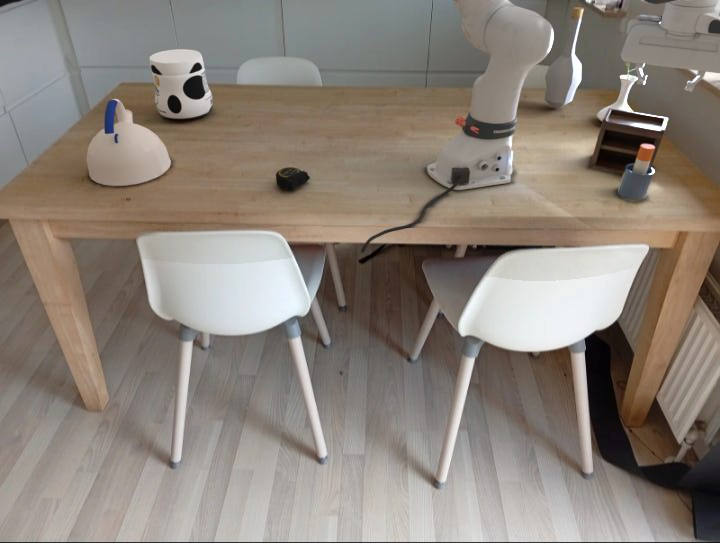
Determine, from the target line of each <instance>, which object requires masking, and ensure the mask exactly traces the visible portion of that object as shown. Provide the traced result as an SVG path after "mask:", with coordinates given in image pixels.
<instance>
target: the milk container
mask: <svg viewBox="0 0 720 543" xmlns="http://www.w3.org/2000/svg"><path fill="white" fill-rule="evenodd" d="M148 61H149V67H150V71H151V76H152V80H153V84H154V104H155V106H156V109H157V112H158V113H159V114H160V115H161V117H163V118H166V119H168V120H173V121H188V120H195V119H200V118H202V117H205V116H206V115H208V114H209V113H210V112H212V109H213V107H214V106H213V105H214V99H213V94H212V91H211V89H210V87H209V84H208V81H207V74H206V68H205V63H204V58H203V55H202V53H201V52H200V51H198V50H195V49H187V48H185V49H183V48H178V49H168V50H162V51H161V50H160V51H158V52H155V53H153V54H152V55H150V56H149V59H148Z"/></svg>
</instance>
